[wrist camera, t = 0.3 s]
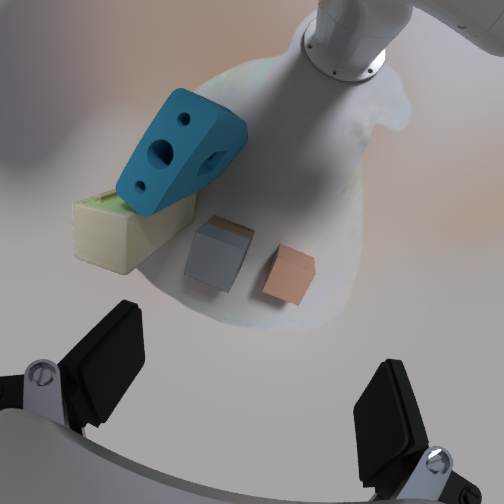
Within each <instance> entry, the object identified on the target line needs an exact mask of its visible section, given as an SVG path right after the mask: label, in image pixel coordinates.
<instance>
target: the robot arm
mask: <svg viewBox="0 0 504 504" xmlns="http://www.w3.org/2000/svg"><path fill="white" fill-rule="evenodd" d="M413 6H414V7H416V8H419V9H421V10H422V11H424V12H426V13H428V14H429V15H431V16H433V17H434V18H436V19H438V20H439V21H441V22H442V23H444V24H446V25H447V26H449V27H450V28H452V29H453V30H455V31H456V32H457V33H459V34H460V35H462V36H463V37H465V38H466V39H468V40H469V41H470V42H472V43H473V44H475V45H476V46H477V47H479V48H480V49H482V50H483V51H485V52H487V53H489V54H492V55H494V56H499V57H504V0H319V2H318V11H317V18H315V19H314V20H313V21H312V22H311V23H310V24H309V25H308V27H307V29H306V31H305V34H304V48H305V51H306V54H307V56H308V58H309V59H310V61H311V62H312V63H313V64H314V66H315V67H317V68H318V69H319V70H320V71H321V72H323V73H324V74H326V75H327V76H330V77H332V78H334V79H337V80H341V81H347V82H358V81H363V80H366V79H368V78H370V77H372V76H373V75H375V74H376V73H377V72H378V71H379V70H380V69H381V67H382V66H383V63H384V60H385V48H386V47H387V46H388V45H389V43H390V42H391V41H392V40H393V39H394V38H395V37H396V36H397V35H398V34H399V33H400V32H401V30H402V29H403V28H404V27H405V26H406V25H407V24H408V22H409V21H410V19H411V15H412V10H413ZM308 47H311V49H309V48H308ZM368 71H370V73H368ZM333 72H335V73H336V75H334V74H333ZM144 362H145V351H144V339H143V326H142V311H141V309H140V308H138V305H137V304H136V303H133V302H130V301H127V300H122V301H121V302H120V303H119V304H118V305H117V306H116V307H115V308H114V309H113V310H112V311H110V312H109V313H108V314H107V315H106V316H105V317H104V318H103V319H102V320H101V321H100V322H99V323H98V324H97V325H96V326H95V327H94V328H93V329H92V330H91V331H90V332H89V333H88V334H87V335H86V336H85V337H84V338H83V339H82V340H81V341H80V342H79V343H78V344H77V345H76V346H75V347H74V348H73V349H72V350H71V351H70V352H69V353H68V354H67V355H66V356H65V357H64V358H63V359H62V360H61V361H60V362H59V363H58V364H57V365H56V364H55V363H53V362H52V361H50V360H46V359H41V360H36V361H34V362H32V363H31V364H30V365H29V366H28V367H27V369H26V370H25V374H24V375H13V376H2V377H0V504H481V500H482V496H481V492H480V490H479V488H477V487H476V486H475V485H474V484H472V483H470V482H469V481H467V480H466V479H464V478H463V477H461V476H460V475H458V474H457V473H455V472H454V471H452V467H453V459H452V457H451V455H450V453H449V452H448V451H447V450H446V449H444V448H442V447H440V446H433V447H430V448H429V445H428V443H429V441H428V438H427V434H426V431H425V427H424V424H423V421H422V417H421V414H420V411H419V408H418V405H417V402H416V399H415V396H414V393H413V390H412V387H411V384H410V381H409V379H408V376H407V373H406V370H405V368H404V365H403V363H402V361H401V360H395V359H387V360H386V361H385V362H382V363H381V364H380V366H379V367H378V369H377V371H376V372H375V374H374V376H373V377H372V379H371V381H370V382H369V384H368V386H367V387H366V389H365V390H364V392H363V393H362V395H361V397H360V398H359V400H358V401H357V403H356V404H355V406H354V411H353V414H354V422H355V432H356V442H357V453H358V466H359V478H360V481H363V488H365V487H366V488H367V487H375V494H374V495H373V496H372V498H371V499H370V500H369V501H368V502H343V503H321V502H300V501H287V500H278V499H269V498H262V497H255V496H249V495H244V494H238V493H233V492H229V491H224V490H219V489H215V488H211V487H208V486H204V485H200V484H196V483H193V482H190V481H186V480H183V479H180V478H177V477H174V476H171V475H168V474H165V473H162V472H159V471H157V470H154V469H152V468H149V467H147V466H144V465H141V464H139V463H137V462H134V461H132V460H130V459H128V458H125V457H123V456H121V455H119V454H117V453H115V452H113V451H111V450H108V449H106V448H104V447H102V446H100V445H98V444H96V443H95V442H92V441H91V440H89V439H87V438H86V435H85V430H84V427H85V426H86V424H87V423H90V424H91V425H93V426H95V427H97V428H98V427H99V425H100V424H101V423H105V422H106V421H107V419H108V418H109V416H110V415H111V413H112V412H113V410H114V409H115V407H116V406H117V404H118V403H119V401H120V400H121V398H122V397H123V395H124V394H125V392H126V391H127V389H128V388H129V386H130V385H131V383H132V382H133V380H134V379H135V377H136V376H137V374H138V373H139V371H140V370H141V368H142V367H143V365H144Z"/></svg>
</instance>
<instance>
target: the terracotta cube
mask: <svg viewBox="0 0 504 504" xmlns="http://www.w3.org/2000/svg"><path fill="white" fill-rule="evenodd" d="M314 275H315V264H314V257H311V256H309V255H306V254H304V253H301V252H299V251H296V250H294V249H292V248H289V247H287V246H284V245H282V244H280V245H279V248H278V250H277V252H276V255H275V257H274V259H273V262H272V264H271V266H270V268H269V271H268V273H267V276H266V280H265V283H264V287H263V291H262V292H264V293H267V294H269V295H272V296H275V297H277V298H280V299H282V300H285V301H287V302H290V303H293V304H295V305H298V306H299V304H300V302H301V300H302V298H303V296H304V295H305V293H306V291H307V289H308V287H309V285H310V283H311V281H312V279H313V277H314Z"/></svg>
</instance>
